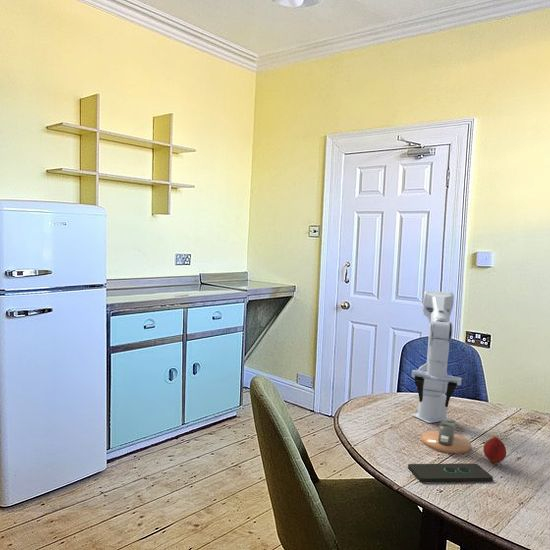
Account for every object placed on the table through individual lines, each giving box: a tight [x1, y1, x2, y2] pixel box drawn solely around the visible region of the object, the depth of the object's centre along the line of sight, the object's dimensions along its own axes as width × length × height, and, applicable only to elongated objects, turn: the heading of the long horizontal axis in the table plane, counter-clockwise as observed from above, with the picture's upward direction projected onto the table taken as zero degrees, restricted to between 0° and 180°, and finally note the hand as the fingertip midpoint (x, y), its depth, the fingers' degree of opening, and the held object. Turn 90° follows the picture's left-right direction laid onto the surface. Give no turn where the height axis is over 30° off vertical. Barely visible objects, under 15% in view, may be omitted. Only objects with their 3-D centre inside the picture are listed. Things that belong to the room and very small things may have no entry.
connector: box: [438, 417, 457, 446], centre depth 152 cm, size 12×4×5 cm, turn 156°
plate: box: [421, 430, 472, 455], centre depth 153 cm, size 14×14×1 cm
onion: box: [482, 434, 507, 465], centre depth 141 cm, size 6×6×8 cm
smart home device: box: [407, 463, 494, 483], centre depth 133 cm, size 8×2×20 cm
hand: (433, 403), depth 158 cm, fingers open, 7 cm apart
